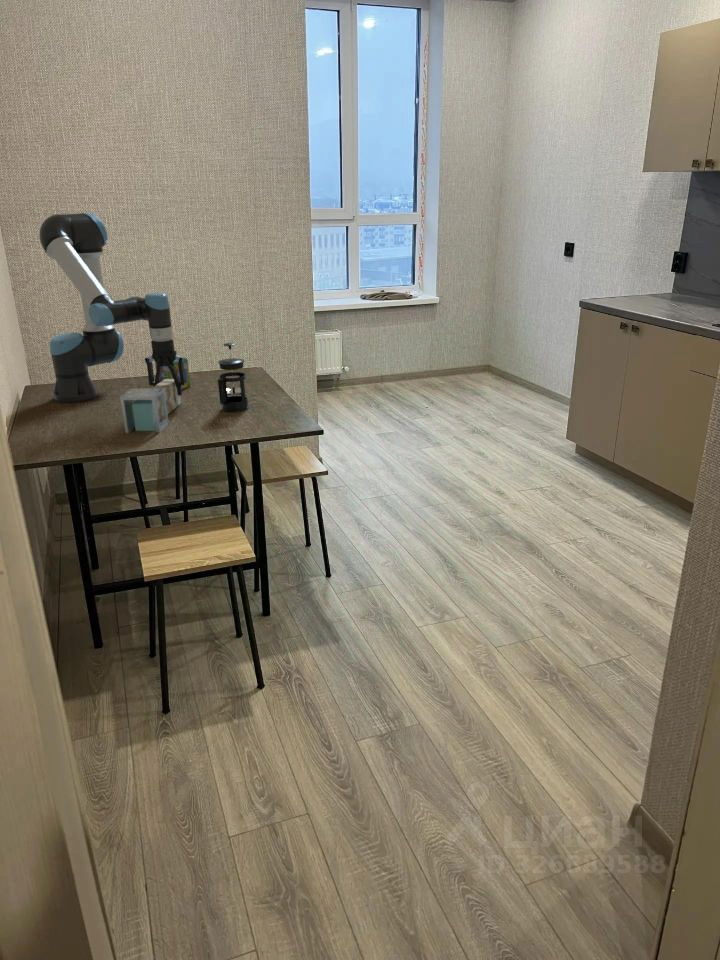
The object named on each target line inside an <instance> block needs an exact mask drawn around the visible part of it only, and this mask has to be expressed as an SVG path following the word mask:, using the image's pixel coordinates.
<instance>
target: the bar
mask: <svg viewBox="0 0 720 960" xmlns="http://www.w3.org/2000/svg"><path fill="white" fill-rule="evenodd" d="M175 386H176V384H175V382H174V379H164V380H163V381H161V382H160V383H158V384H157V385H155V386H152V387H151V388H164V391H165V399H166V407H167V415H168V414H170V413H171V412H172V411H174V410H175V409H176V408H178V407H179V406H180V405H182V398H181V396H180V402H181V403H180V404H179V405H176V397H175V389H174V387H175ZM156 400H157V407H158V415H159V422H161V421H162V420H163V419H164V415H163V407H162V399H161V395H160V396H159V397H157V398H156Z"/></svg>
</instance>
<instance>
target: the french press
mask: <svg viewBox="0 0 720 960" xmlns="http://www.w3.org/2000/svg"><path fill="white" fill-rule="evenodd" d="M236 345H237V344H236V343H234V342H227V343H224V344H223V346H224V347H228V350H229V355H230V356H229V357H230V358H225V359H224V358H223V359H221V360H218V362H217V364H219V369H220V370H224V371H230V372H224V373H221V374H220V375H219V378H218V379H217V385H218V396H219V404H220V405H221V410H222V411H223V410H224V412H226V411H227V412H228V413H239V412H238V411H240V412H244V411H246V410H248V409H249V408H250V406H249V401H248V400H249V399H248V397H247V396H246V391H247V390H246V388H245V379H247V378H246V377H247V375H246V373H245V372H243V371H242V372H241V371H240V372H239V371H235V370H241V369H243V368H244V363H245V359H242V358H233V357H232V347H233V346H236ZM234 376H235V377H234ZM234 382H236V383H237V382H239V387H235V383H234ZM227 383H232V387H229V388H228V387H227Z"/></svg>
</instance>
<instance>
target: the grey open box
mask: <svg viewBox="0 0 720 960" xmlns="http://www.w3.org/2000/svg"><path fill="white" fill-rule="evenodd" d="M160 395H161V399H162V407H163V415H164V417H163V418H162V419H161V420H160V421H159V419H158V411H157V403H156V398H157V397H159V396H160ZM119 400H120V407H121V411H122V413H121V414H122V419H123V427H124V433H125V434H130V432H131V431H133V430H134V429H136V428H135V422H134V415H133V408H132V404H133V403H134V402H135V401H136V400H152V405H153V413H154V420H155V427H156V429H155V434H160V433H161V432H162V431H163V430H164V429H165V428H166V427H167V426H168V425H169V416H168V414H167V407H166V399H165V391H164V388H152V387H151V388H148V387H147V388H130V389H129V390H127V391H126V392H124V393H123V394H122V395H120V397H119ZM159 422H160V423H159Z"/></svg>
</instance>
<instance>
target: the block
mask: <svg viewBox="0 0 720 960" xmlns="http://www.w3.org/2000/svg"><path fill="white" fill-rule="evenodd" d="M156 403H157V400H156ZM132 408H133V415H134V422H135V428H134V429H135V431H136V432H154V431H156V427H155V420H154V413H153V405H152V400H136V401H135V402H134V403H133V404H132ZM157 411H158V407H157ZM158 419H159V415H158ZM160 422H161V421H159V423H160Z"/></svg>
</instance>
